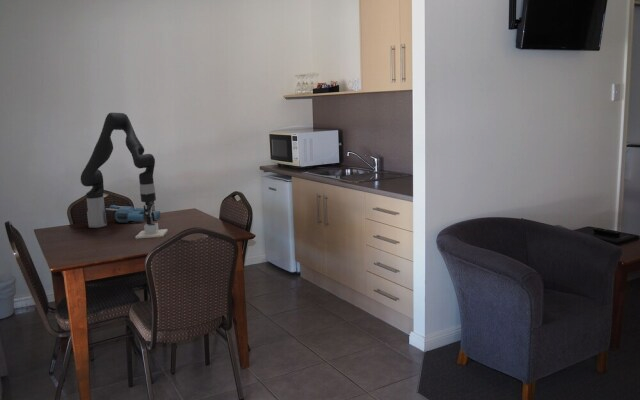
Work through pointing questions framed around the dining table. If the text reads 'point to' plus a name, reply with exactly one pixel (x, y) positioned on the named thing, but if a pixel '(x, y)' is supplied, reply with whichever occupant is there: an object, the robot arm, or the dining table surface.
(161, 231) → the post
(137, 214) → the toy
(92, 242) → the dining table surface
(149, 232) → the collar
